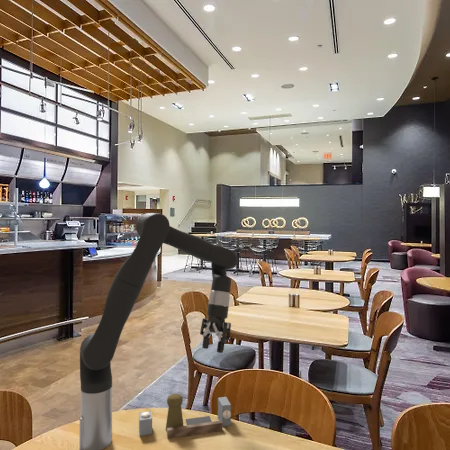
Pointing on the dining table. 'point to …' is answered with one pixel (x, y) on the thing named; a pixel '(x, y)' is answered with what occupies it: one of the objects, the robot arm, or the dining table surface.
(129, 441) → the dining table surface
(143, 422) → the near end cabinet
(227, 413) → the far end cabinet
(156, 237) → the robot arm
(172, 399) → the olive pawn
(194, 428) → the handrail
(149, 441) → the dining table surface
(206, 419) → the mat
